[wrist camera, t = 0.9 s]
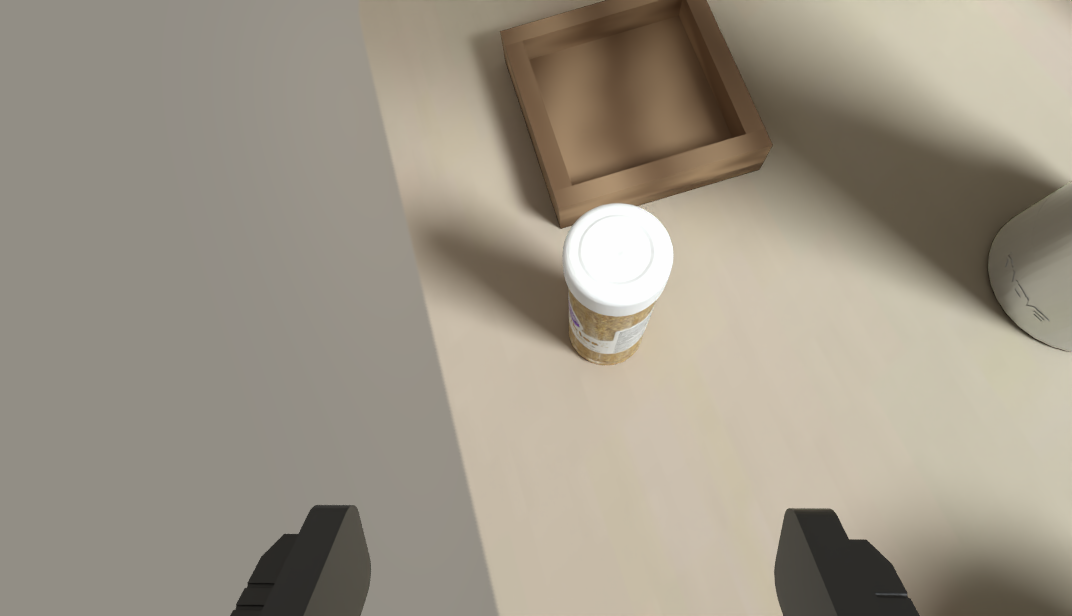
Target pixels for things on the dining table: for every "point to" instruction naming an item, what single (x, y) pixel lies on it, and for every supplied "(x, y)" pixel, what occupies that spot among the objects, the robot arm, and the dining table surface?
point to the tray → (632, 103)
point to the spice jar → (614, 279)
